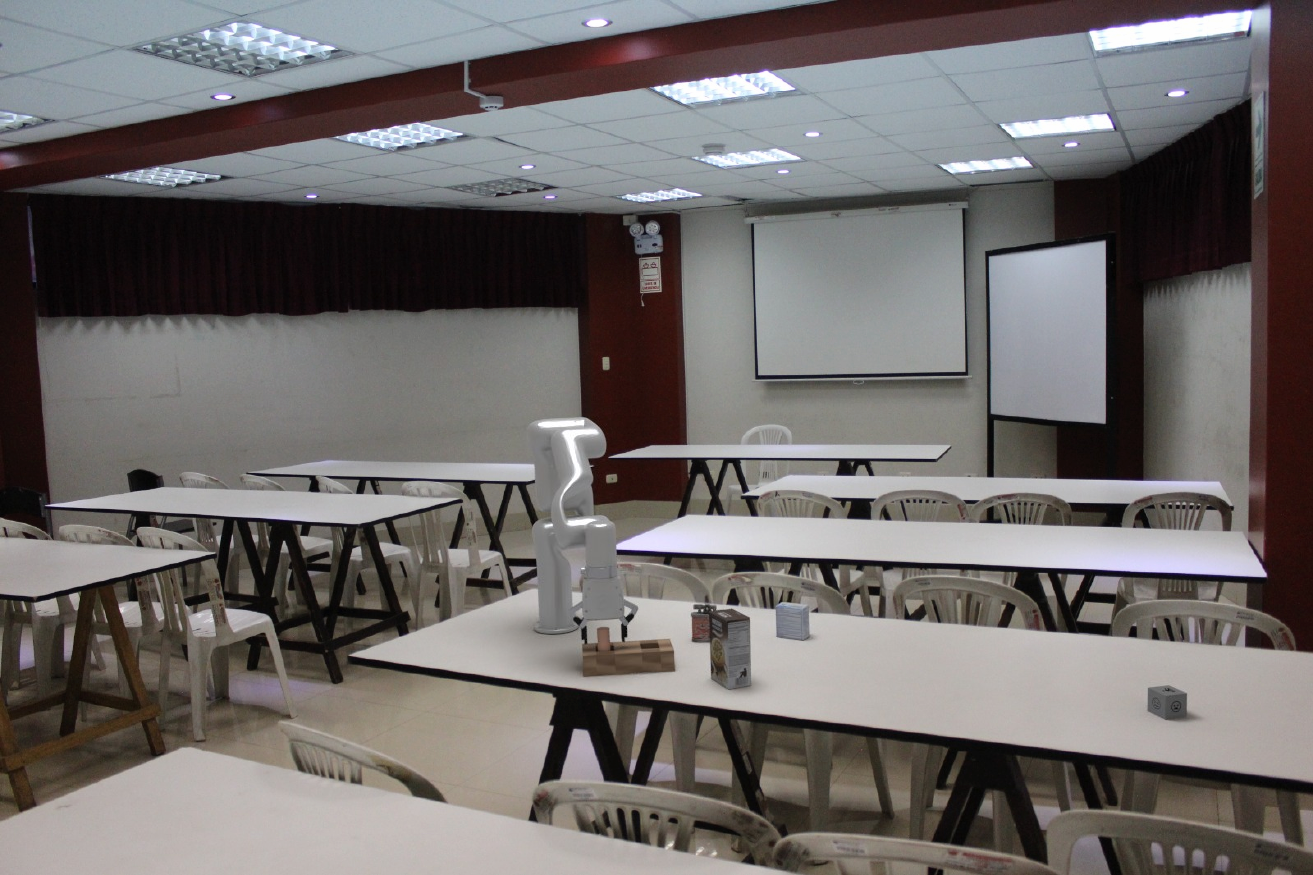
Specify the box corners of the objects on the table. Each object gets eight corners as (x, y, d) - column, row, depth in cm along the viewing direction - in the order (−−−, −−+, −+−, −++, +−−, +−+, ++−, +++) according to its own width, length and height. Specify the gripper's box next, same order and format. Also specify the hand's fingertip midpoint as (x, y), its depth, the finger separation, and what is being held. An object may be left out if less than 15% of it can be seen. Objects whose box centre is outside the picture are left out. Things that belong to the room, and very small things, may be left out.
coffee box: (709, 678, 229) (707, 611, 227) (733, 674, 231) (732, 607, 230) (727, 690, 220) (725, 620, 219) (752, 685, 223) (750, 616, 222)
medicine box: (810, 636, 259) (809, 604, 258) (803, 641, 255) (802, 608, 255) (783, 632, 263) (782, 601, 263) (775, 637, 260) (775, 605, 259)
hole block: (582, 663, 243) (582, 643, 242) (670, 658, 245) (669, 638, 244) (583, 676, 233) (582, 656, 232) (674, 671, 235) (674, 650, 234)
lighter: (722, 638, 260) (721, 602, 259) (721, 642, 256) (720, 605, 256) (692, 638, 261) (691, 602, 260) (691, 642, 257) (690, 605, 256)
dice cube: (1186, 717, 196) (1187, 693, 196) (1165, 720, 195) (1165, 695, 195) (1168, 708, 201) (1168, 685, 201) (1147, 711, 200) (1147, 687, 200)
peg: (598, 666, 240) (596, 627, 239) (611, 665, 240) (608, 626, 239) (599, 671, 237) (597, 630, 236) (611, 670, 237) (609, 630, 236)
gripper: (565, 577, 232) (568, 648, 233) (638, 573, 233) (641, 644, 235) (566, 570, 239) (568, 639, 241) (636, 566, 241) (638, 635, 242)
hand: (604, 641), depth 238 cm, fingers open, 8 cm apart
